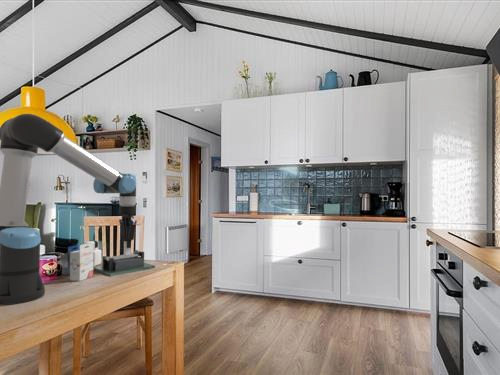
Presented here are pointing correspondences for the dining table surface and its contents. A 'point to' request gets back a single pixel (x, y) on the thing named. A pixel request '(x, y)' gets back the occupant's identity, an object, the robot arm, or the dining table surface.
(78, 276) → the ink cartridge box
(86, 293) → the dining table surface
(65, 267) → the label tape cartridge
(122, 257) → the steel strap
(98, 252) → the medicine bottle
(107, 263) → the green fixture base plate
